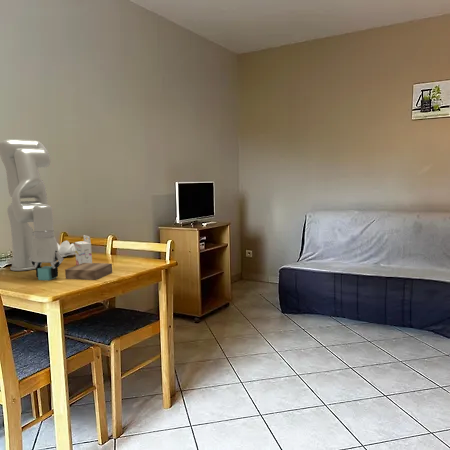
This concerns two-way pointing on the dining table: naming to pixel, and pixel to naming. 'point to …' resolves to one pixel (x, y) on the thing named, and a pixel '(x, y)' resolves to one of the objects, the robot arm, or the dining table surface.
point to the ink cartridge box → (83, 251)
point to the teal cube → (45, 273)
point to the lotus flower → (66, 249)
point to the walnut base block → (88, 271)
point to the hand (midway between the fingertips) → (47, 276)
